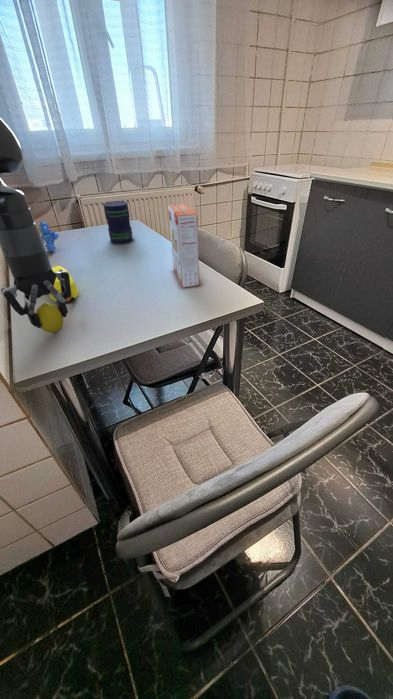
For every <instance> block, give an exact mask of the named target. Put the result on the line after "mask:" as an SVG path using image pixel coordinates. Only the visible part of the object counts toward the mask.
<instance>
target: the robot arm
mask: <svg viewBox="0 0 393 699" xmlns="http://www.w3.org/2000/svg"><path fill="white" fill-rule="evenodd" d="M23 162H24V156H23V151H22V148H21V145H20V142H19V140H18V139H17V136H16V135H15V133H14V132H13V131H12V129H11V128H10V127H9V126H8V124H7V123H5V121H4V120H3V119H2V118H1V117H0V175H10V174H11V175H12V174H15V173H17V172H18V171H20V169H21V168H22V166H23ZM41 236H42V234H41V232H40V230H39V228H38V226H37V224H36V221H35V219H34V216H33V213H32V209H31V207H30V204H29V201H28V198H27V196H26V194H25V193H24V192H23V191H22V190H20V189H17V188H13V187H11V186H8V185H7V184H5V182H4V181H3V180H2V178H1V177H0V249H1V251H2V254H3V256H4V258H5V261H6V263H7V265H8V268H9V269H10V273H11V275H12V277H13V284H12V285H10V286H8V287H2V288H1V289H0V292H1V294H2V295H3V296H4V298H5V299H6V300H7V302H8V304H9V305H10V306H11V307H12V309H13V310H14V311H15V312H16V313H17V314H18V315H19V316H21V317H22V316H25V315H27V318H28V320H29V322H30V324H31V325H32V326H33V327H35V328H37V329H41V327H42V326H41V324H40V321H39V319H38V316H37V314H36V311H35V310H36V305H37V299H39V298H42V297H43V296H49V294H51V295H52V296H53V297H54V298H55V299H56V300H57V301H55V304H56V307H57V308H58V309H59V310H60V312H61V313H62V316H63V318H67V317H68V314H69V310H68V306H67V304H66V301H65V300H66V299H67V298H70V297H71V287H70V278H69V274H70V273H69V271H68V272H66V271H64V270H59V272H54V271H53V270H52V268H53V267H52V265H51V262H50V258H49V256H48V253H47V249H46V247H45V243H44V242H45V241H44V240H43V239H42V238H41ZM56 277H57V279H58V280H59V281H60V285H61V293H59V292H58V291H57V290H56V289H55V288H54V287H53V286H54V283H55V280H56ZM17 291H19V292H21V293H22V294H23V302H24V303H23V306H22V305H21V304H20V302H19V301H18V300H17V297H18V293H17ZM71 298H72V297H71Z"/></svg>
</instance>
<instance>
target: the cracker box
mask: <svg viewBox="0 0 393 699" xmlns="http://www.w3.org/2000/svg"><path fill="white" fill-rule="evenodd" d="M167 209H168V210H167V211H168V221H169V233H170V243H171V244H170V245H171V258H172V267H173V272H174V274H175V276H176V278H177V280H178V282H179V285H180V286H181V288H182V289H185V288H191V287H198V286H200V259H199V258H200V257H199V255H200V254H199V223H198V222H199V221H198V220H199V218H198V213H197V212H196V211H195V210H193V209H192V208H191V207H190V206H189V205H188V204H187V203H174V204H172V203H171V204H168V205H167Z"/></svg>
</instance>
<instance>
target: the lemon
mask: <svg viewBox="0 0 393 699" xmlns="http://www.w3.org/2000/svg"><path fill="white" fill-rule="evenodd" d="M35 313H36V314H37V316H38V319H39V321H40V324H41V326H42V327H40V329H41V330H43V331H44V332H46V333H50V334H51V333H53V334H57V333H58V332H59V331H60V330H61V329H63V328H62V327H63V326H64V317H63V316H62V313H61V312H60V310H59V309H58V307H57V305H55V304H52V303H47V302H43V303H42V304H41V305H39V306H38V307H37V309H36V311H35Z"/></svg>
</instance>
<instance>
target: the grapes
mask: <svg viewBox="0 0 393 699" xmlns="http://www.w3.org/2000/svg"><path fill="white" fill-rule="evenodd" d="M38 227H39V228H40V230H39V233H41V238H42V240H43V242H45V244H44V247H45V248H46V251H48V252H50V253H52V252H53V253H54V251H55V250H56V244H55V241H56V240H58V239H59V237H60V235H59V233H57V232H56V231H52V230H51V229H50V228H49V224H48V223H47V222H45V221H44V220H42V221H40V222H39V224H38Z"/></svg>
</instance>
